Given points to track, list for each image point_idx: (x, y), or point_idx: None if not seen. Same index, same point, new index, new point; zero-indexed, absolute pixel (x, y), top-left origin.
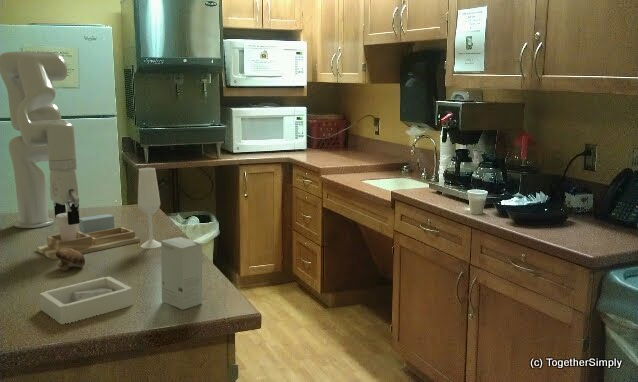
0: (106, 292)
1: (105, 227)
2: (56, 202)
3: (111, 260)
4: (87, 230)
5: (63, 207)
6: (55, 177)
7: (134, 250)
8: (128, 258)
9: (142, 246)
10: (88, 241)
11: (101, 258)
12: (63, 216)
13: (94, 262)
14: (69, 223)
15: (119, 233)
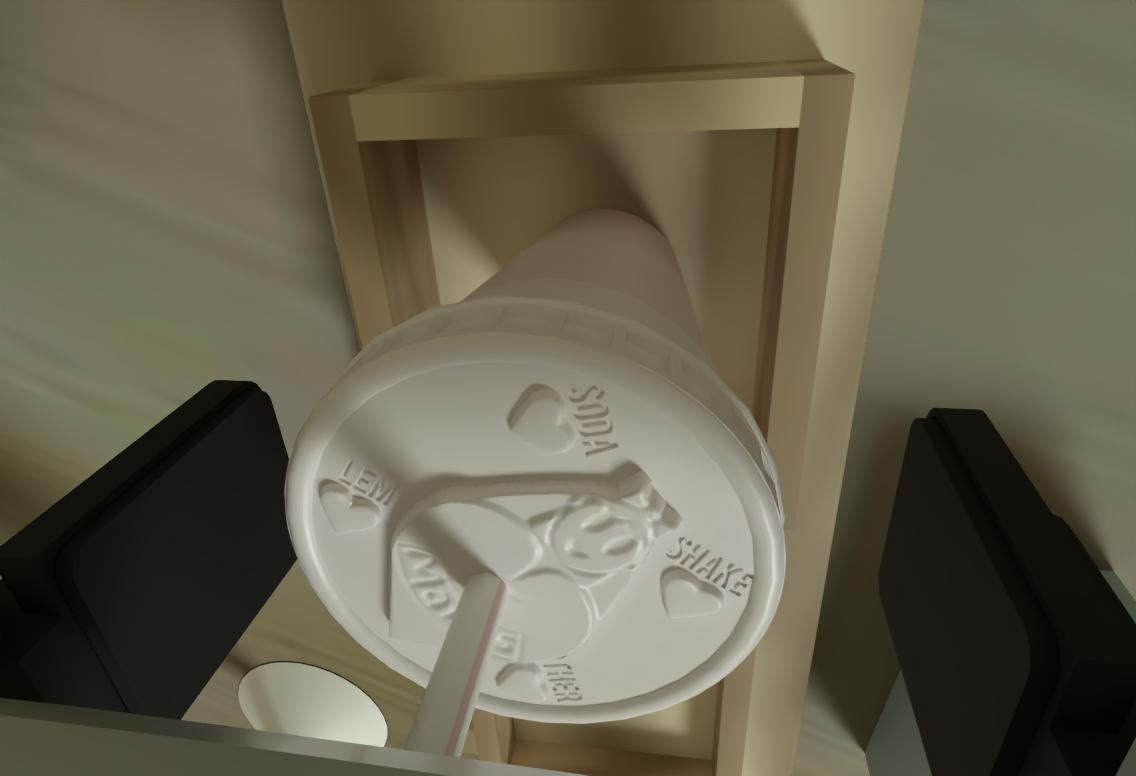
0: None
1: (905, 769)
2: (439, 760)
3: (38, 388)
4: None
5: (944, 760)
6: None
7: None
8: (49, 491)
9: (295, 673)
10: None
11: (130, 358)
12: (431, 464)
13: (25, 263)
14: (208, 398)
15: (705, 747)
